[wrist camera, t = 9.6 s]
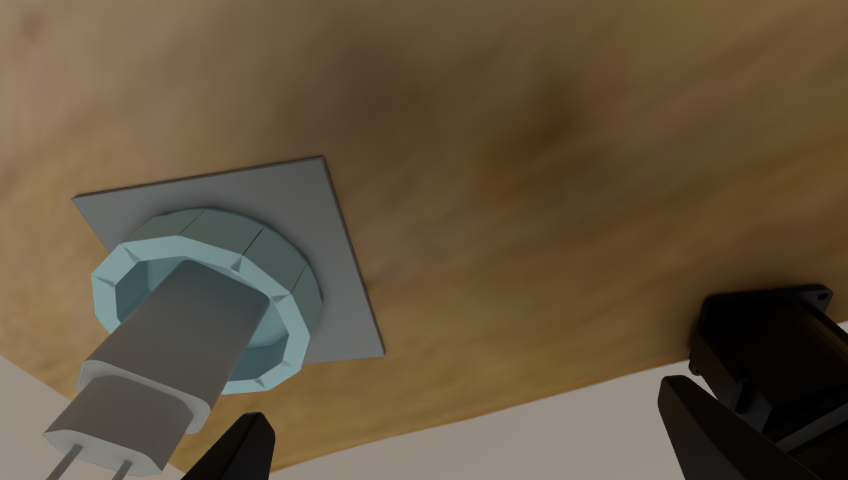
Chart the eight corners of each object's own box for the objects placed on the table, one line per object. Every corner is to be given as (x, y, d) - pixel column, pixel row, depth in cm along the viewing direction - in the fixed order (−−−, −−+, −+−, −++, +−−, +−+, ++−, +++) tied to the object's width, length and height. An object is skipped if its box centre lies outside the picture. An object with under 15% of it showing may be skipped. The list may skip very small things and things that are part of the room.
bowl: (284, 192, 20) (259, 223, 18) (343, 344, 26) (332, 385, 23) (94, 221, 22) (45, 253, 19) (190, 359, 28) (163, 399, 25)
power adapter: (182, 255, 22) (-40, 479, 12) (274, 298, 23) (144, 531, 13) (169, 291, 24) (-40, 518, 13) (255, 329, 25) (126, 561, 15)
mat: (322, 156, 20) (320, 158, 19) (385, 351, 27) (384, 356, 27) (76, 195, 21) (70, 198, 21) (197, 369, 29) (194, 373, 28)
